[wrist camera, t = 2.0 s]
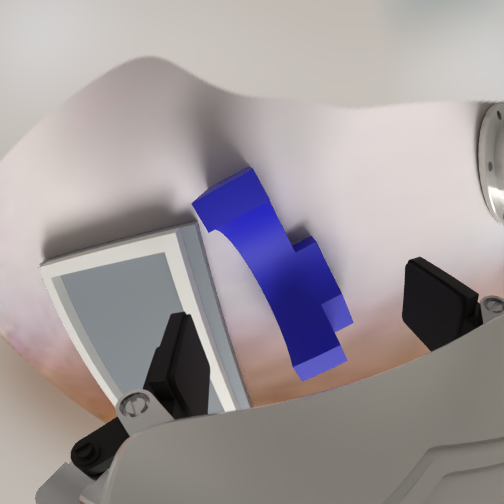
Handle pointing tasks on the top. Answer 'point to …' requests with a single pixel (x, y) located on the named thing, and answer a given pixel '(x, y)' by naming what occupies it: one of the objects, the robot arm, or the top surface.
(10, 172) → the top surface
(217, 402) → the shallow rectangular tray
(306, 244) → the blue long irregular block
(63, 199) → the top surface
